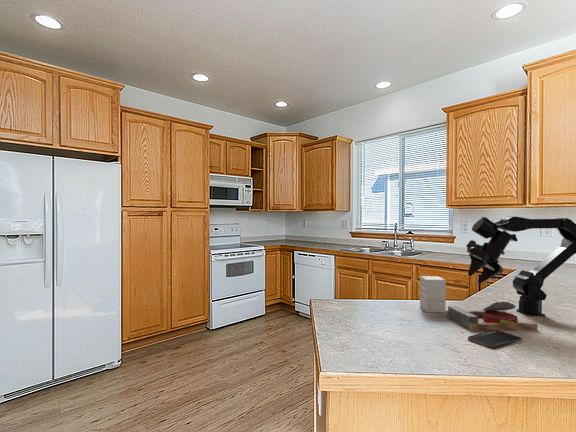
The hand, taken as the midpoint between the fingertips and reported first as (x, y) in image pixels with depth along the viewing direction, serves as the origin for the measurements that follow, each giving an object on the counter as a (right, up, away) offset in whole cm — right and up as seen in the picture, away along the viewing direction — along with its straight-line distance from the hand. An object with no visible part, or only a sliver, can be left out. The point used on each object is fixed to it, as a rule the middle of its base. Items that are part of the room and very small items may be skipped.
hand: (474, 279), depth 122 cm
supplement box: (-16, -12, +1) cm, 20 cm away
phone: (-11, -13, -29) cm, 34 cm away
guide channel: (-3, -12, -13) cm, 19 cm away
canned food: (+1, -13, -13) cm, 18 cm away
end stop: (-13, -12, -14) cm, 22 cm away
